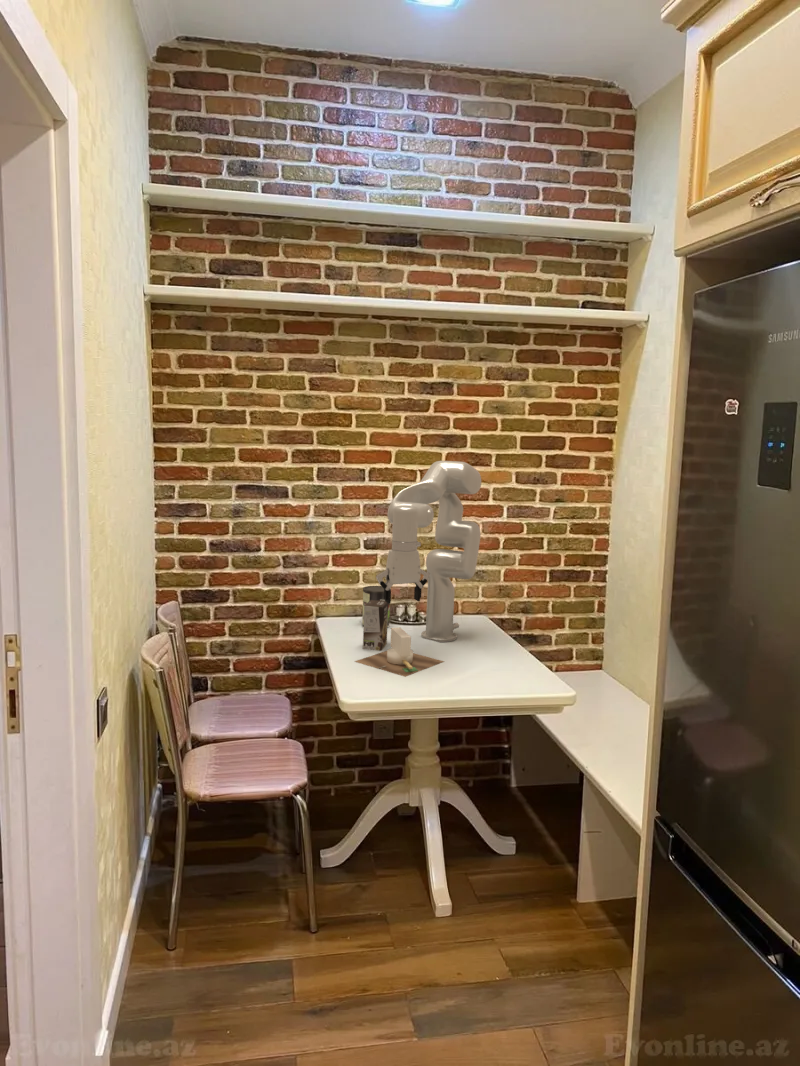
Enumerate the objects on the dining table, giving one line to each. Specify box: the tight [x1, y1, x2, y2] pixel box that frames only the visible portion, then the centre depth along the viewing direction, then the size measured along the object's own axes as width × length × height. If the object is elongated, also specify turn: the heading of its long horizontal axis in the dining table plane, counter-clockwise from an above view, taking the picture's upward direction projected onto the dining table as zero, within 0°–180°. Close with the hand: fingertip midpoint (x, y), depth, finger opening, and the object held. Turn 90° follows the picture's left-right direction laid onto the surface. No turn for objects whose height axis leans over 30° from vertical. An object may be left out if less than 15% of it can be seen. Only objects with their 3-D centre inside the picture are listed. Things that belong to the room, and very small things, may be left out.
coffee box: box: [362, 600, 388, 652], centre depth 248 cm, size 9×6×16 cm
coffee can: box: [361, 585, 392, 628], centre depth 279 cm, size 10×10×14 cm
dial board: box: [354, 650, 445, 678], centre depth 234 cm, size 20×20×2 cm
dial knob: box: [386, 627, 414, 669], centre depth 231 cm, size 16×8×9 cm, turn 17°
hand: (402, 601), depth 232 cm, fingers open, 9 cm apart
